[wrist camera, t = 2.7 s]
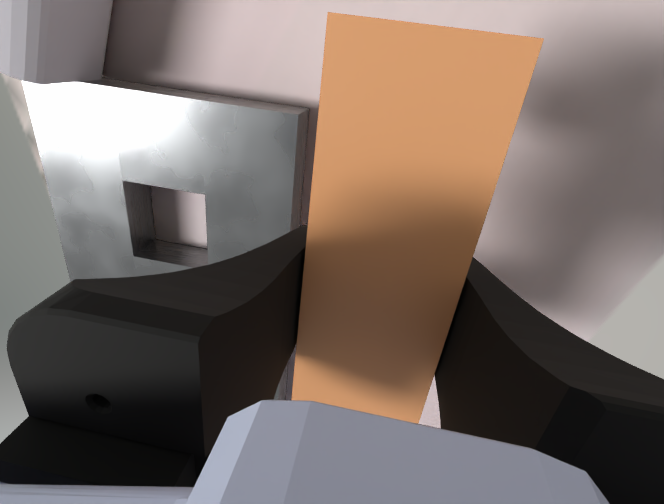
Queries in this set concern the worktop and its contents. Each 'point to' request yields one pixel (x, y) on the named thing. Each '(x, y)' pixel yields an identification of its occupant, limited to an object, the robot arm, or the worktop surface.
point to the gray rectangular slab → (164, 172)
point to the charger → (54, 39)
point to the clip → (399, 201)
